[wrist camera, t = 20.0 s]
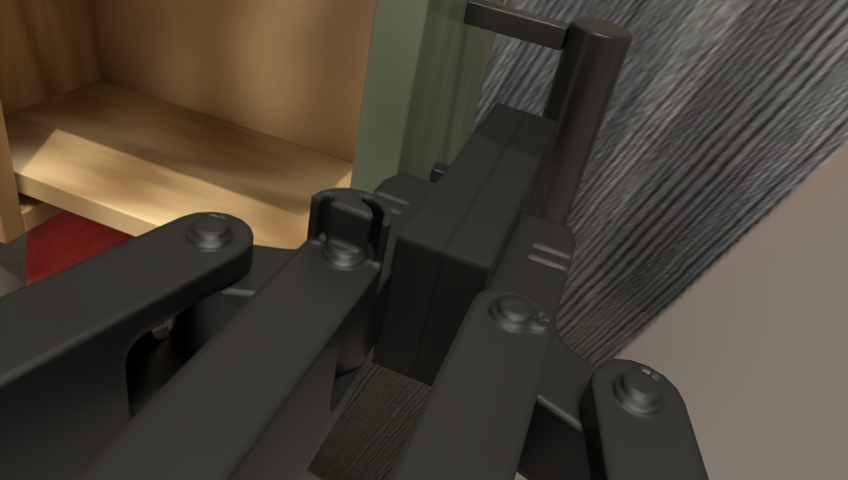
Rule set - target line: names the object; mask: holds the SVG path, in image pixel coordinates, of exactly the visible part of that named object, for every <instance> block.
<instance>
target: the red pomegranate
mask: <svg viewBox="0 0 848 480" xmlns="http://www.w3.org/2000/svg"><path fill="white" fill-rule="evenodd" d="M132 238H135V236H132V235H130V234H127V233H125V232H122V231H119V230H117V229H114V228H111V227H109V226H106V225H104V224H101V223H98V222H96V221H93V220H90V219H88V218H85V217H83V216H80V215H77V214H75V213H72V212H69V211H67V210H64V211H62V212H61V213H59V214H57V215H55V216H54V217H52V218H50V219H48V220H47V221H45V222H43V223H41V224H40V225H38V226H36V227H34V228H33V229H31V230H30V232H29V234H28V238H27V242H26V254H25V260H24V267H25V272H26V278H27V283H26V285H25V286H27V285H29V284H31V283H34V282H36V281H38V280H40V279H43V278H45V277H47V276H49V275H52V274H54V273H56V272H58V271H60V270H63V269H65V268H67V267H69V266H72V265H74V264H76V263H78V262H81V261H83V260H85V259H87V258H90V257H92V256H94V255H96V254H99V253H101V252H103V251H105V250H108V249H110V248H112V247H114V246H117V245H119V244H121V243H123V242H126V241H128V240H130V239H132Z"/></svg>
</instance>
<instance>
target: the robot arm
mask: <svg viewBox="0 0 848 480" xmlns="http://www.w3.org/2000/svg"><path fill="white" fill-rule="evenodd" d="M557 125H558V122H557V121H553V120H550V119H547V118H544V117H540V116H537V115H534V114H531V113H528V112H524V111H521V110H518V109H515V108H511V107H508V106H505V105H502V104H499V103H496V105H495V106H494V107H493V109H492V110H491V111H490V113H489V114H488V115H487V117H486V118H485V119H484V121H483V122H482V123H481V125H480V126H479V127H478V129H477V130H476V131H475V132H474V134H473V135H472V136H471V138H470V139H469V140H468V142H467V143H466V144H465V146H464V147H463V148H462V150H461V151H460V152H459V154H458V155H457V156H456V158H455V159H454V160H453V162H452V163H451V164H450V166H449V167H448V168H447V170H446V171H445V172H444V174H443V175H442V176H441V178H440V179H439V180H438V182H437V183H433V182H430V181H427V180H424V179H421V178H418V177H415V176H412V175H409V174H406V173H401V174H398V175H395V176H393V177H390V178H387V179H385V180H384V181H383V182H382V183H381V184H380V185H379V186H378V187H377V188H376V189H375V190H374V193H372V194H371V193H369V192H366V191H362V190H358V189H353V188H331V189H326V190H321V191H320V192H318V193H316V194H314V195H313V196H311V205H310V215H309V224H308V233H307V240H306V241H305V242H304V243H303V244H302V245H301V246H300V247H299V248H298V249H284V248H275V247H269V246H262V245H255V244H253V242H254V235H253V232H252V230H251V227H250V226H249V225H248V224H247V223H245V222H244V221H243V220H242V219H240V218H237V217H235V216H232V215H230V214H225V213H219V212H196V213H193V214H189V215H186V216H182V217H180V218H177V219H175V220H173V221H171V222H168V223H166V224H164V225H162V226H159V227H157V228H155V229H153V230H150V231H148V232H146V233H144V234H141V235H139V236H137V237H135V238H132V239H130V240H128V241H126V242H123V243H121V244H119V245H117V246H114V247H112V248H110V249H108V250H105V251H103V252H101V253H99V254H96V255H94V256H92V257H90V258H87V259H85V260H83V261H81V262H78V263H76V264H74V265H72V266H69V267H67V268H65V269H63V270H60V271H58V272H56V273H54V274H52V275H49V276H47V277H45V278H43V279H40V280H38V281H36V282H34V283H31V284H29V285H27V286H25V287H22V288H20V289H18V290H16V291H13V292H11V293H9V294H7V295H4V296H2V297H0V480H300V479H301V477H302V476H303V474H304V473H305V471H306V470H307V468H308V466H309V465H310V463H311V461H312V460H313V458H314V456H315V455H316V453H317V451H318V450H319V448H320V447H321V445H322V443H323V442H324V440H325V438H326V437H327V435H328V433H329V432H330V430H331V428H332V427H333V425H334V424H335V422H336V420H337V419H338V417H339V415H340V414H341V412H342V410H343V409H344V407H345V406H346V404H347V402H348V401H349V399H350V397H351V396H352V394H353V392H354V391H355V389H356V387H357V386H358V384H359V382H360V379H361V376H362V372H363V367H364V362H365V358H366V357H367V355H368V354H369V352H370V350H371V349H372V347H373V346H374V344H375V348H374V353H373V358H372V363H375V364H378V365H380V366H383V367H385V368H388V369H390V370H393V371H395V372H398V373H400V374H403V375H405V376H408V377H410V378H413V379H415V380H418V381H420V382H423V383H426V384H428V385H431V388H430V391H429V393H428V395H427V397H426V399H425V401H424V403H423V405H422V407H421V409H420V411H419V414H418V416H417V418H416V420H415V422H414V424H413V426H412V428H411V430H410V432H409V434H408V436H407V439H406V441H405V443H404V445H403V447H402V449H401V451H400V453H399V455H398V457H397V459H396V462H395V464H394V466H393V468H392V470H391V472H390V474H389V476H388V478H387V480H514V479H515V475H516V471H517V472H518V473H519V474H521V475H522V476H523V477H525V478H526V479H527V480H709V479H708V475H707V472H706V469H705V466H704V463H703V460H702V456H701V453H700V450H699V447H698V444H697V441H696V437H695V434H694V431H693V428H692V424H691V421H690V418H689V415H688V412H687V409H686V405H685V403H684V401H683V399H682V397H681V395H680V394H679V392H678V390H677V388H676V387H674V385H673V384H672V383H671V382H670V381H669V380H668V379H667V378H666V377H665V376H663V375H662V374H660V373H658V372H657V371H655V370H654V369H652V368H650V367H649V366H646V365H644V364H641V363H638V362H635V361H632V360H623V359H612V360H609V361H606V362H602V363H601V364H600V365H599V366H598V367H595V366H594V365H592V364H591V363H589V362H588V361H586V360H584V359H583V358H582V357H580V356H579V355H578V354H576V353H575V352H574V351H572V350H571V349H570V348H569V347H568V345H567V344H566V343H565V342H564V341H563V339H562V338H561V336H560V335H559V333H558V330H557V327H556V314H557V311H558V307H559V303H560V300H561V296H562V292H563V289H564V285H565V282H566V278H567V274H568V270H569V267H570V263H571V259H572V256H573V253H574V249H575V245H576V241H575V239H574V237H573V234H572V232H571V229H570V227H569V226H566V225H563V224H560V223H557V222H554V221H551V220H548V219H545V218H542V217H539V216H536V215H533V214H530V213H529V210H530V207H531V204H532V201H533V198H534V195H535V192H536V189H537V186H538V183H539V179H540V176H541V173H542V170H543V167H544V164H545V161H546V158H547V155H548V152H549V149H550V146H551V143H552V140H553V137H554V134H555V131H556V128H557ZM167 320H168V324H169V326H167V327H166V328H164V329H162V330H160V331H157V332H154V333H152V331H151V330H152V329H154V328H155V327H157V326H159V325H160V324H162V323H164V322H166V321H167Z"/></svg>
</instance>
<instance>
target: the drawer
mask: <svg viewBox="0 0 848 480" xmlns="http://www.w3.org/2000/svg"><path fill="white" fill-rule="evenodd" d="M502 4H503V0H0V98H1V104H2V109H3V115H4V120H5V126H6V131H7V137H8V142H9V148H10V153H11V159H12V164H13V170H14V175H15V181H16V186H17V192H20V193H22V194H25V195H28V196H30V197H33V198H35V199H38V200H41V201H43V202H46V203H49V204H51V205H54V206H56V207H59V208H62V209H64V210H67V211H69V212H72V213H75V214H77V215H80V216H83V217H85V218H88V219H90V220H93V221H96V222H98V223H101V224H104V225H106V226H109V227H111V228H114V229H117V230H119V231H122V232H125V233H127V234H130V235H132V236H135V237H137V236H139V235H141V234H144V233H146V232H148V231H150V230H153V229H155V228H157V227H159V226H162V225H164V224H166V223H168V222H171V221H173V220H175V219H177V218H180V217H182V216H186V215H189V214H193V213H196V212H219V213H225V214H230V215H232V216H235V217H237V218H240V219H242V220H243V221H244V222H245V223H247V224H248V225H249V226H250V227H251V230H252V232H253V235H254V242H253V244H255V245H262V246H269V247H275V248H284V249H298V248H299V247H300V246H301V245H302V244H303V243H304V242H305V241H306V240H307V233H308V224H309V215H310V205H311V196H313V195H314V194H316V193H318V192H320V191H321V190H326V189H331V188H353V189H358V190H362V191H366V192H369V193H371V194H372V193H374V190H375V189H376V188H377V187H378V186H379V185H380V184H381V183H382V182H383V181H384V180H385V179H387V178H390V177H393V176H395V175H398V174H401V173H406V174H409V175H412V176H415V177H418V178H421V179H424V180H427V181H430V182H433V183H437V182H438V180H439V179H440V178H441V176H442V175H443V174H444V172H445V171H446V170H447V168H448V167H449V166H450V164H451V163H452V162H453V160H454V159H455V158H456V156H457V155H458V154H459V152H460V151H461V150H462V148H463V147H464V146H465V144H466V143H467V142H468V140H469V139H470V135H471V131H472V127H473V123H474V118H475V114H476V110H477V106H478V102H479V98H480V94H481V90H482V86H483V82H484V77H485V73H486V69H487V65H488V61H489V57H490V53H491V49H492V45H493V41H494V37H495V32H496V33H499V34H503V35H506V36H510V37H513V38H517V39H520V40H524V41H527V42H531V43H534V44H538V45H542V46H545V47H549V48H552V49H556V50H561V49H562V48H563V49H562V52H561V55H560V59H559V62H558V65H557V68H556V72H555V75H554V78H553V82H552V85H551V88H550V91H549V95H548V98H547V101H546V104H545V108H544V111H543V114H542V117H544V118H547V119H550V120H553V121H557V122H558V125H557V128H556V131H555V134H554V137H553V140H552V143H551V146H550V149H549V152H548V155H547V158H546V161H545V164H544V167H543V170H542V173H541V176H540V179H539V183H538V186H537V189H536V192H535V195H534V198H533V201H532V204H531V207H530V210H529V213H530V214H533V215H536V216H539V217H542V218H545V219H548V220H551V221H554V222H557V223H560V224H563V225H565V223H566V221H567V218H568V215H569V212H570V209H571V207H572V204H573V201H574V198H575V196H576V193H577V190H578V187H579V185H580V182H581V179H582V176H583V173H584V171H585V168H586V165H587V162H588V160H589V157H590V154H591V151H592V149H593V146H594V143H595V140H596V137H597V135H598V132H599V129H600V126H601V124H602V121H603V118H604V115H605V113H606V110H607V107H608V104H609V101H610V99H611V96H612V93H613V90H614V88H615V85H616V82H617V79H618V77H619V74H620V71H621V68H622V65H623V63H624V60H625V57H626V54H627V52H628V49H629V46H630V43H631V41H632V34H631V33H630V32H629V31H627V30H626V29H624V28H623V27H621V26H618V25H616V24H613V23H610V22H607V21H603V20H599V19H594V18H585V17H581V18H574V19H573V20H572V21H571V23H570V24H569V23H565V22H562V21H558V20H554V19H551V18H547V17H544V16H540V15H536V14H533V13H529V12H525V11H522V10H518V9H515V8H511V7H507V6H504V5H502Z"/></svg>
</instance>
